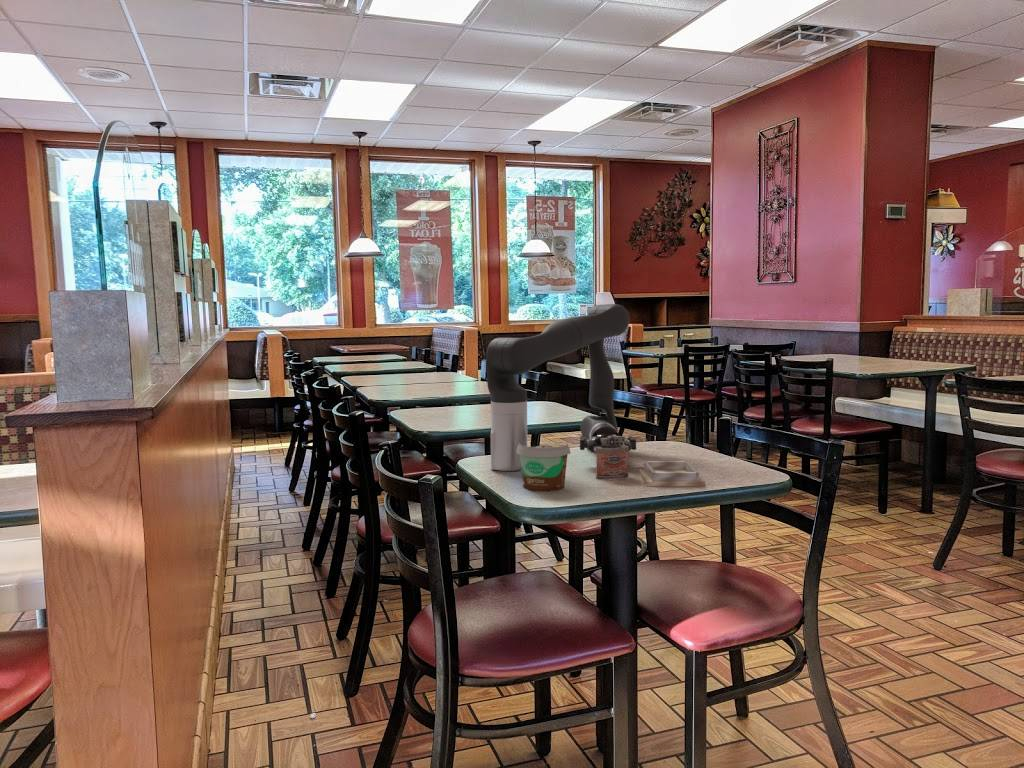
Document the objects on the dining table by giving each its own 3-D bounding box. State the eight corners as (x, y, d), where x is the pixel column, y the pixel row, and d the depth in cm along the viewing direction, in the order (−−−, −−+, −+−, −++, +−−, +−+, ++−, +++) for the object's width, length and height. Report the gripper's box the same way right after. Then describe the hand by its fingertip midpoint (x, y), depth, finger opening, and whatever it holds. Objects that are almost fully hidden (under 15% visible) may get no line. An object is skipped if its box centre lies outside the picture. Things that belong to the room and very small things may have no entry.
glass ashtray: (647, 486, 171) (647, 473, 171) (638, 473, 185) (638, 461, 185) (704, 486, 171) (705, 473, 170) (692, 473, 185) (692, 460, 184)
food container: (511, 491, 167) (510, 447, 167) (517, 485, 173) (517, 442, 173) (566, 494, 165) (565, 448, 164) (570, 487, 170) (570, 443, 170)
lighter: (598, 480, 178) (598, 438, 177) (593, 477, 181) (593, 436, 180) (630, 478, 180) (630, 436, 179) (625, 475, 183) (625, 434, 182)
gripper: (577, 423, 202) (580, 433, 186) (630, 423, 201) (639, 432, 185) (577, 451, 202) (581, 463, 186) (630, 451, 202) (639, 463, 186)
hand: (610, 448), depth 186 cm, fingers open, 8 cm apart
